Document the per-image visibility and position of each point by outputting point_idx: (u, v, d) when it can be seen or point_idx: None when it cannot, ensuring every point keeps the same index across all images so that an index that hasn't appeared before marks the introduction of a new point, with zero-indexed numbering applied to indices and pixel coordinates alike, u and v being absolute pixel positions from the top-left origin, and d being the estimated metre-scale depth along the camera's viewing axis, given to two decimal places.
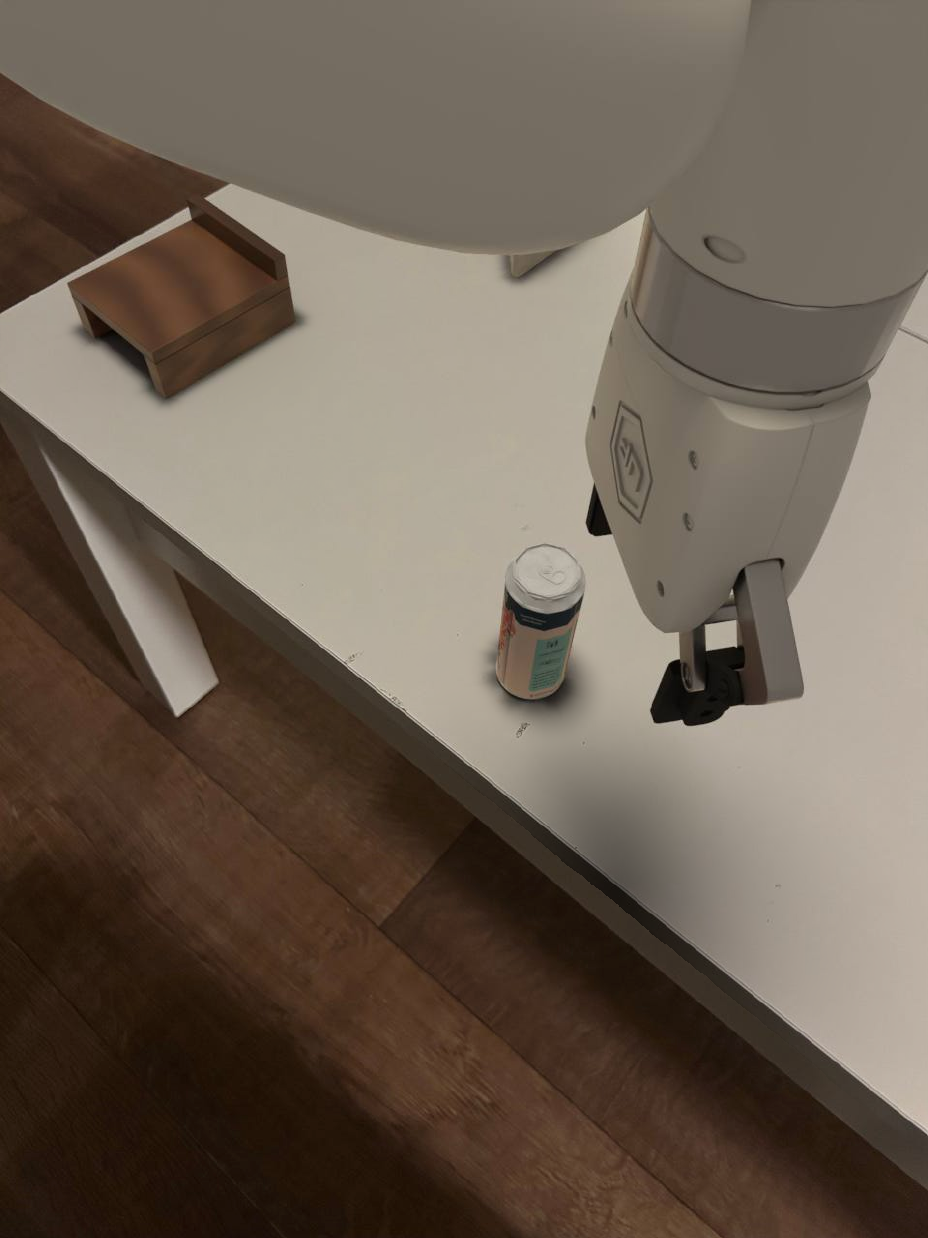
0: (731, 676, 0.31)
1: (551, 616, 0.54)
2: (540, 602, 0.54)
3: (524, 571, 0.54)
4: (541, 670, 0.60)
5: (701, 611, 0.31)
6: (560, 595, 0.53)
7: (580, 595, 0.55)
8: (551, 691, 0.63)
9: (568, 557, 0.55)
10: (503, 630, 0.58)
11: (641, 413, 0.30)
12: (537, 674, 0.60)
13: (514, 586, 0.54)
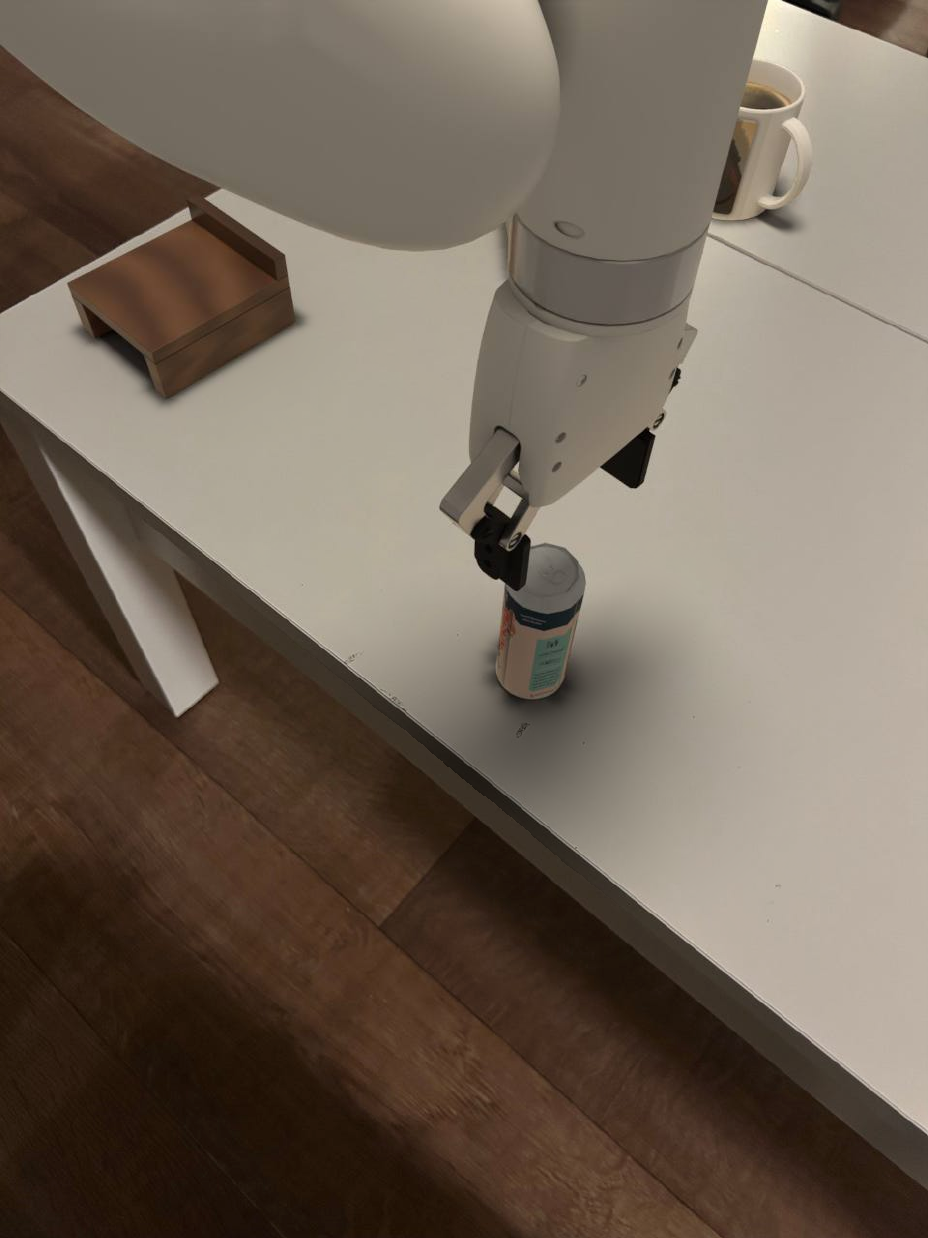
0: None
1: (551, 616, 0.54)
2: (540, 602, 0.54)
3: None
4: (541, 670, 0.60)
5: (480, 452, 0.42)
6: (560, 595, 0.53)
7: (580, 595, 0.55)
8: (551, 691, 0.63)
9: (568, 557, 0.55)
10: (503, 630, 0.58)
11: None
12: (537, 674, 0.60)
13: None
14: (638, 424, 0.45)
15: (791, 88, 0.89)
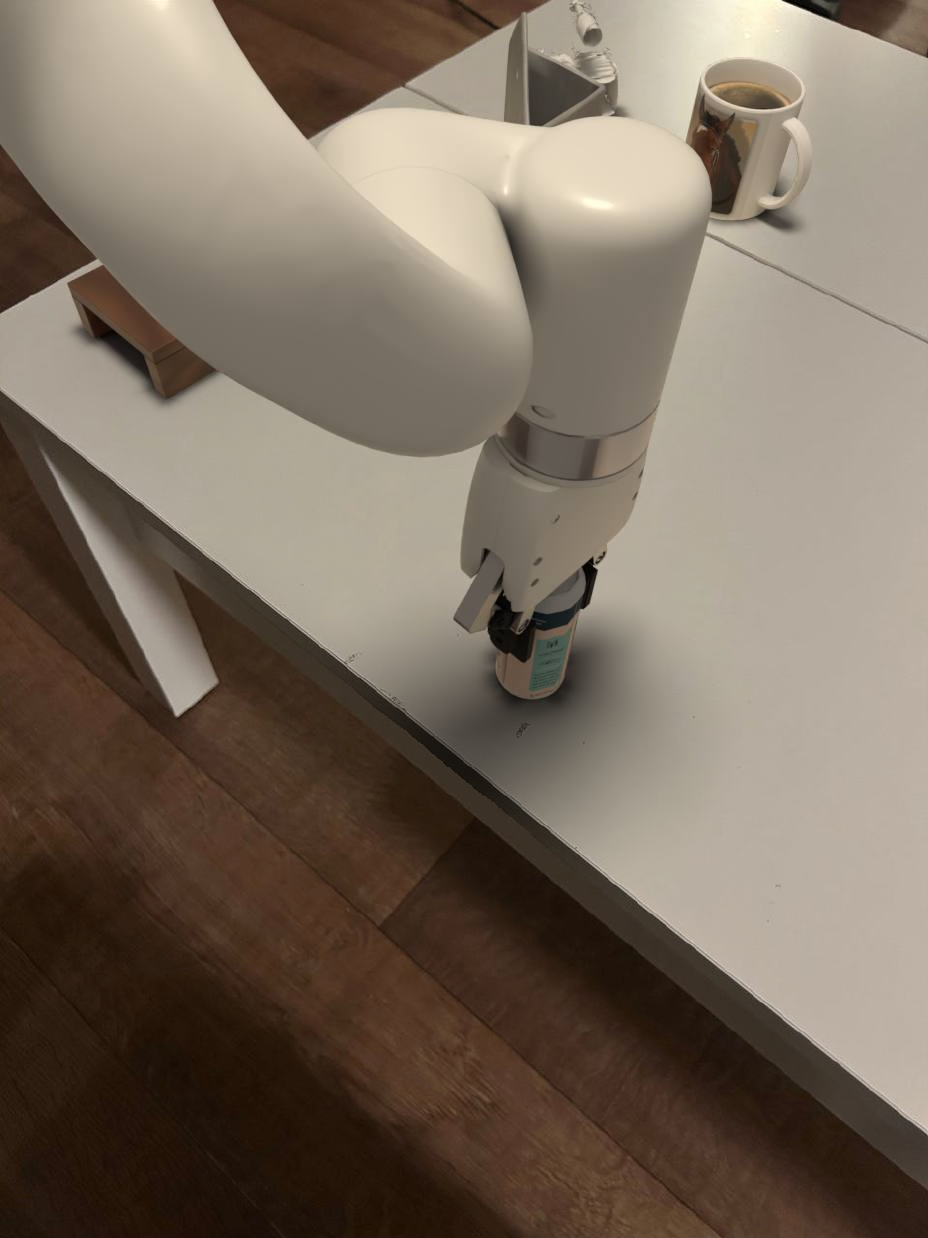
0: None
1: (551, 616, 0.54)
2: (540, 602, 0.54)
3: None
4: (541, 670, 0.60)
5: (476, 572, 0.51)
6: (560, 595, 0.53)
7: (580, 595, 0.55)
8: (551, 691, 0.63)
9: None
10: None
11: None
12: (537, 674, 0.60)
13: None
14: (606, 538, 0.52)
15: (791, 88, 0.89)
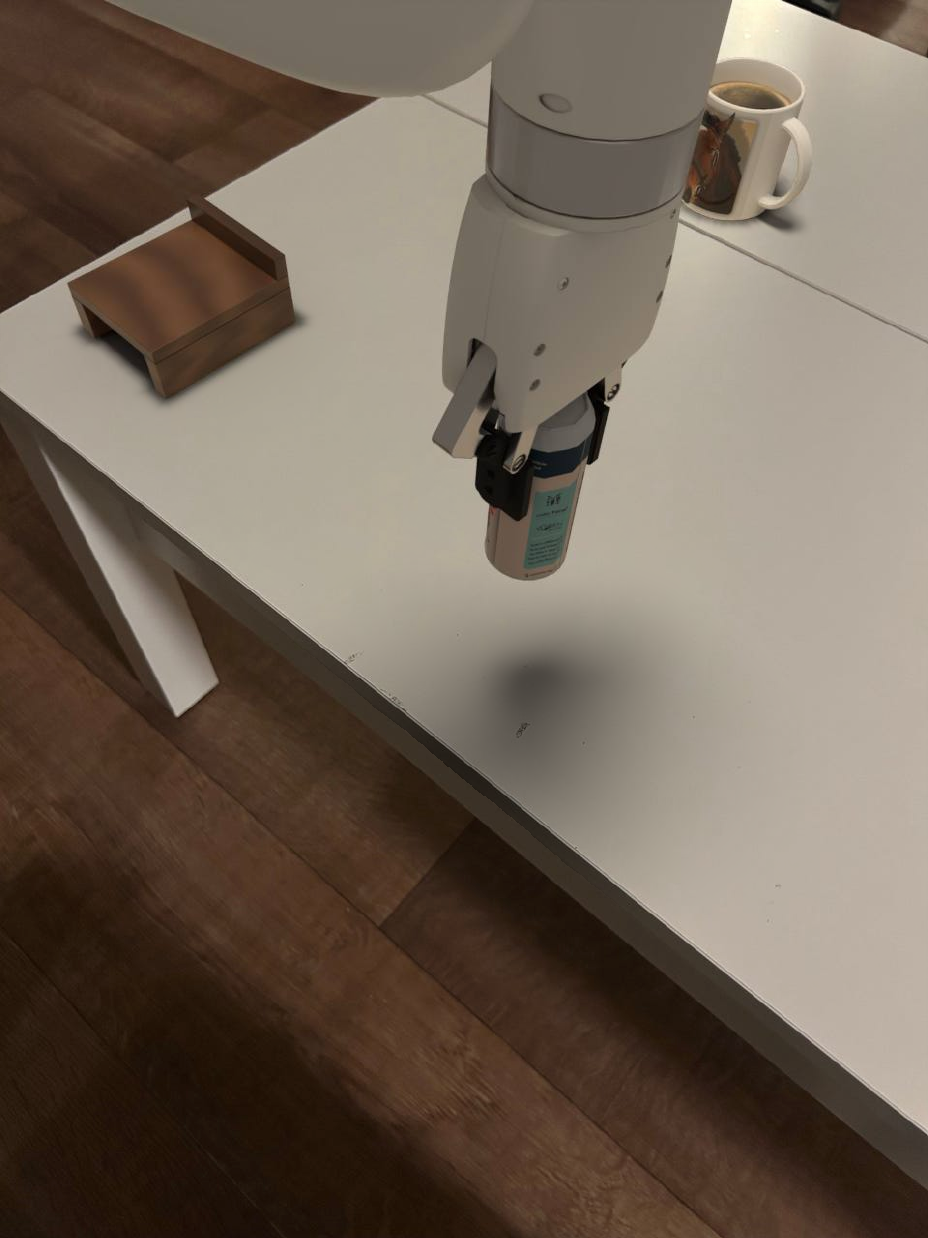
0: None
1: (553, 457, 0.45)
2: (540, 436, 0.44)
3: None
4: (539, 539, 0.50)
5: None
6: (565, 427, 0.44)
7: (589, 432, 0.45)
8: (550, 571, 0.53)
9: None
10: None
11: None
12: (534, 544, 0.50)
13: None
14: (622, 350, 0.42)
15: (791, 88, 0.89)
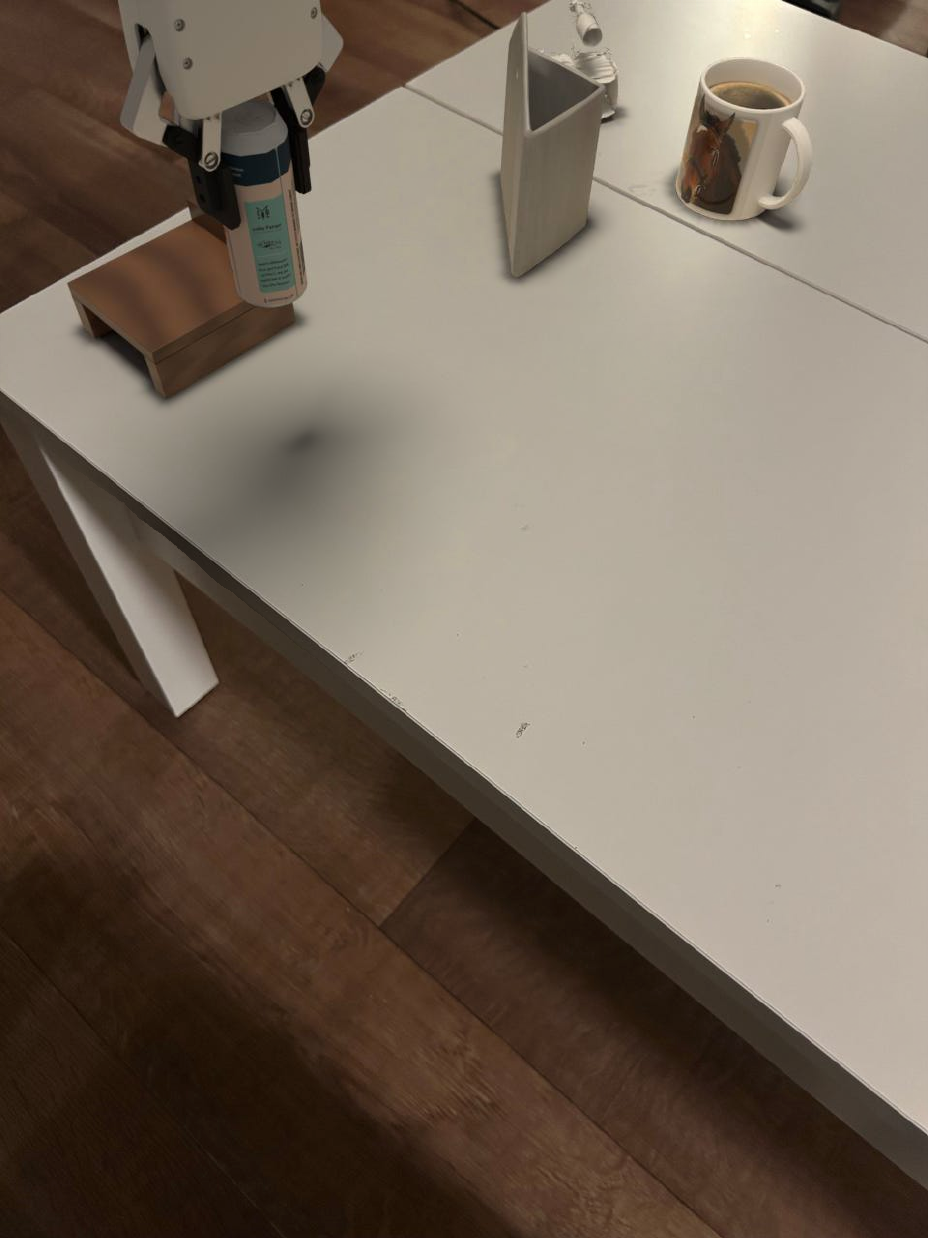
0: None
1: (247, 162, 0.54)
2: (231, 141, 0.53)
3: None
4: (264, 257, 0.59)
5: None
6: (251, 133, 0.53)
7: (277, 142, 0.54)
8: (287, 298, 0.62)
9: (269, 108, 0.55)
10: None
11: None
12: (260, 263, 0.59)
13: None
14: (288, 60, 0.51)
15: (791, 88, 0.89)
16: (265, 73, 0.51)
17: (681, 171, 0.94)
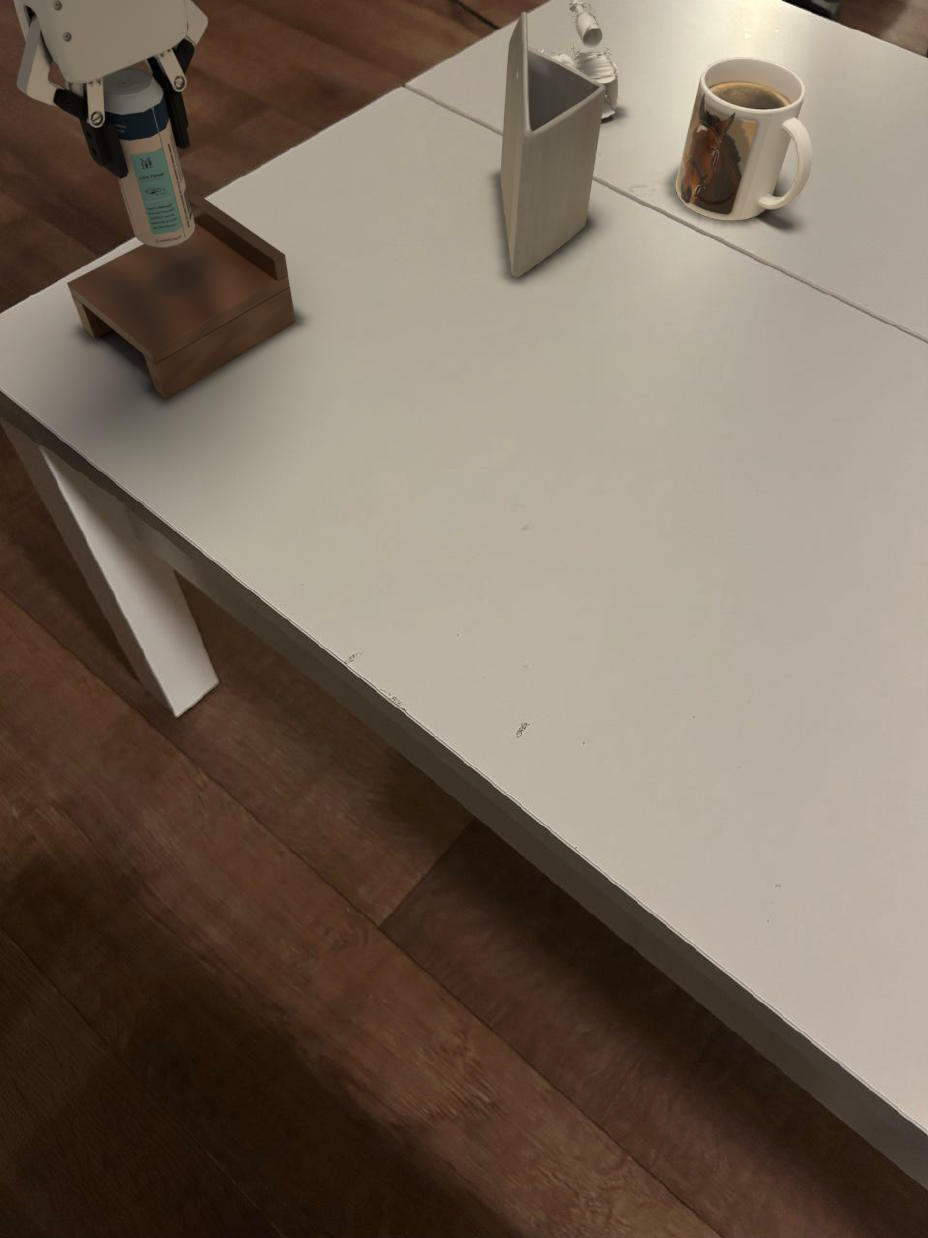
0: None
1: (128, 120, 0.65)
2: (114, 102, 0.64)
3: (106, 82, 0.65)
4: (151, 202, 0.70)
5: None
6: (129, 95, 0.64)
7: (153, 103, 0.65)
8: (175, 239, 0.73)
9: (147, 75, 0.66)
10: None
11: None
12: (149, 207, 0.71)
13: None
14: (156, 34, 0.63)
15: (791, 88, 0.89)
16: (136, 45, 0.62)
17: (681, 171, 0.94)
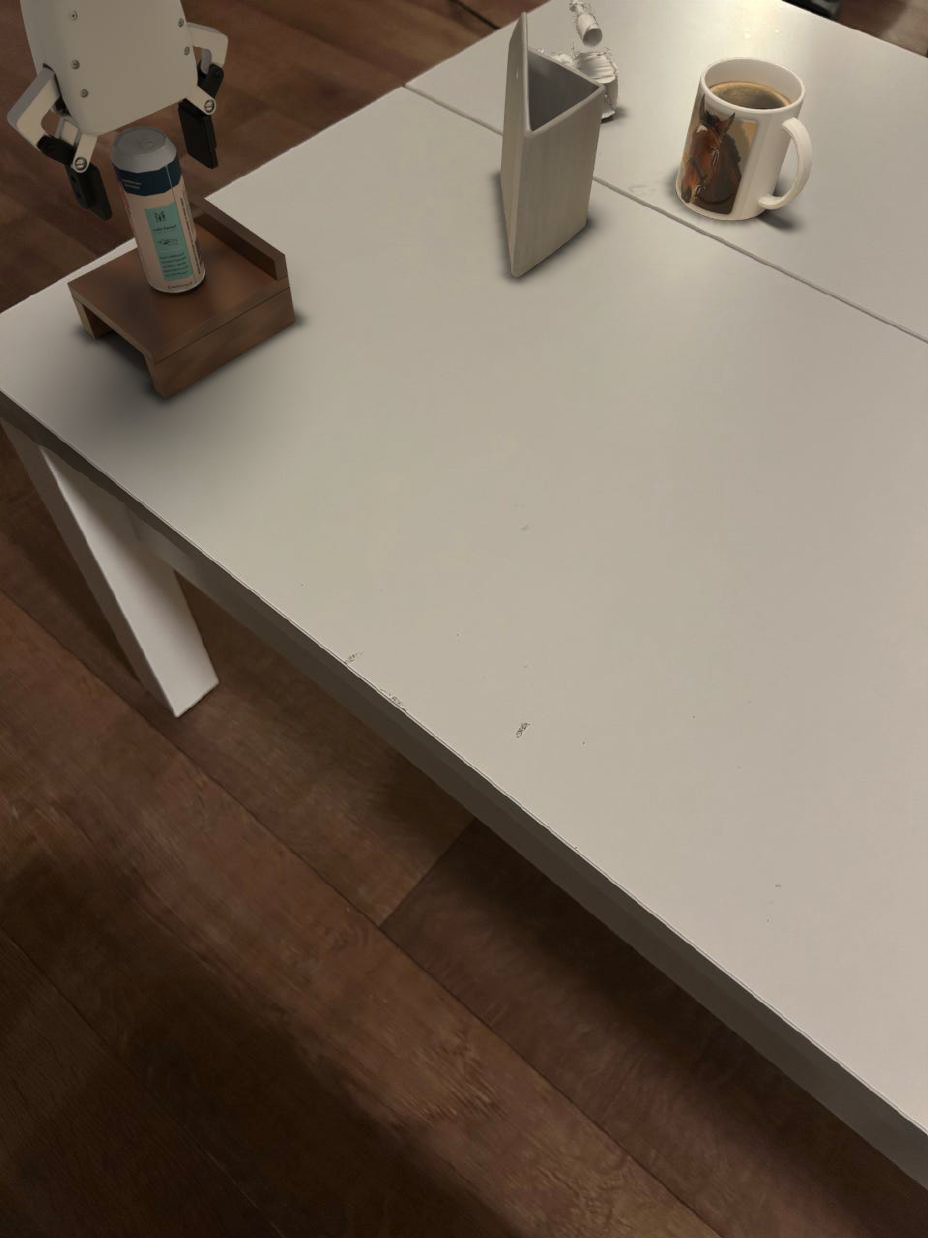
0: None
1: (144, 177, 0.69)
2: (130, 161, 0.68)
3: (122, 141, 0.69)
4: (164, 252, 0.74)
5: None
6: (145, 154, 0.68)
7: (167, 161, 0.69)
8: (187, 285, 0.77)
9: (161, 134, 0.69)
10: (127, 213, 0.73)
11: None
12: (162, 257, 0.74)
13: (113, 152, 0.69)
14: (168, 87, 0.65)
15: (791, 88, 0.89)
16: (149, 98, 0.65)
17: (681, 171, 0.94)
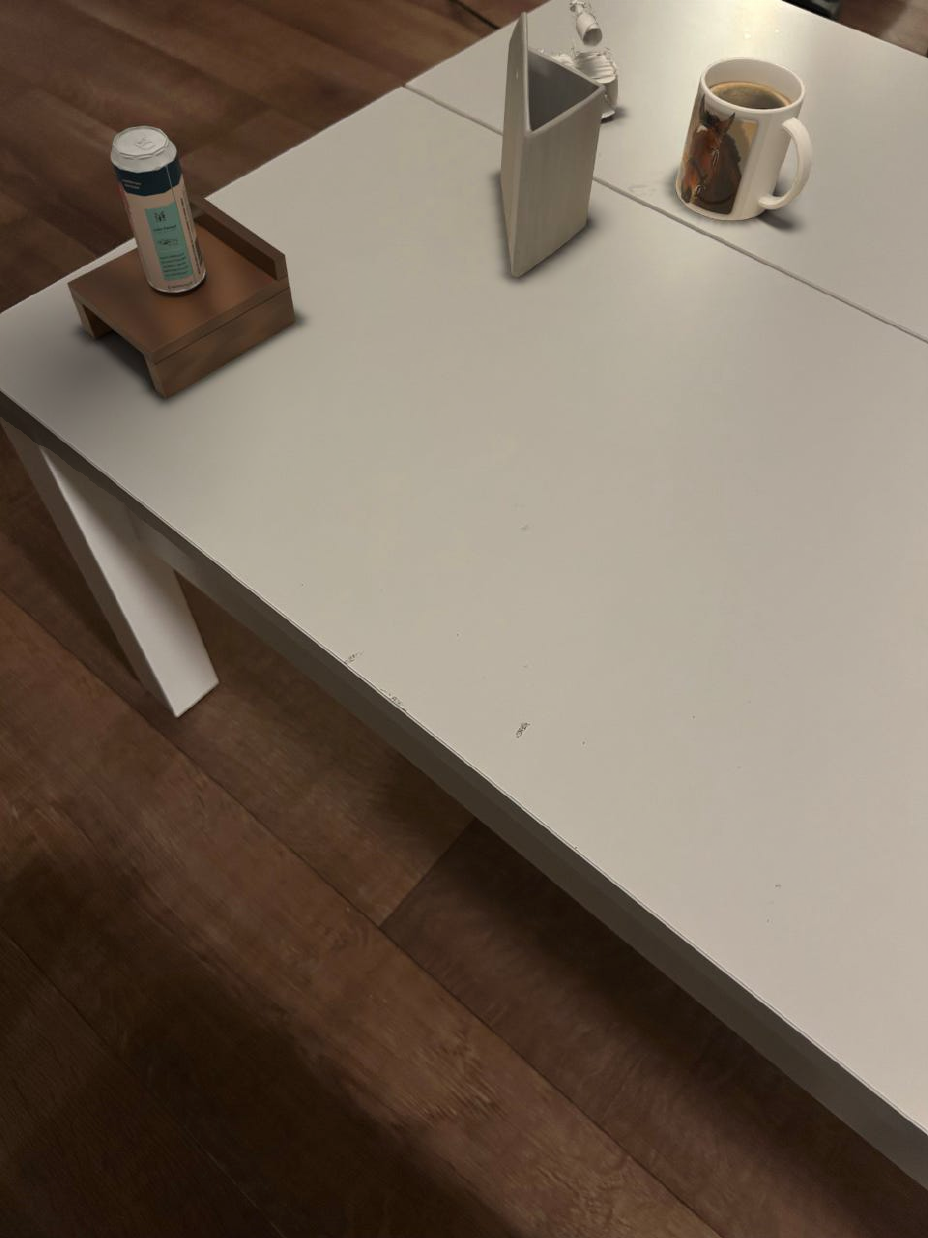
0: None
1: (144, 178, 0.69)
2: (130, 161, 0.68)
3: (122, 141, 0.69)
4: (164, 252, 0.74)
5: None
6: (145, 154, 0.68)
7: (167, 161, 0.69)
8: (187, 285, 0.77)
9: (161, 134, 0.69)
10: (127, 213, 0.73)
11: None
12: (162, 257, 0.74)
13: (113, 152, 0.69)
14: None
15: (791, 88, 0.89)
16: None
17: (681, 171, 0.94)
